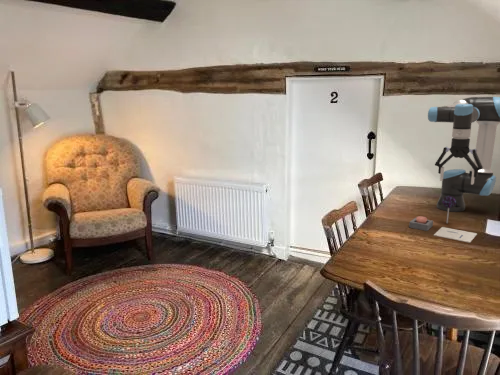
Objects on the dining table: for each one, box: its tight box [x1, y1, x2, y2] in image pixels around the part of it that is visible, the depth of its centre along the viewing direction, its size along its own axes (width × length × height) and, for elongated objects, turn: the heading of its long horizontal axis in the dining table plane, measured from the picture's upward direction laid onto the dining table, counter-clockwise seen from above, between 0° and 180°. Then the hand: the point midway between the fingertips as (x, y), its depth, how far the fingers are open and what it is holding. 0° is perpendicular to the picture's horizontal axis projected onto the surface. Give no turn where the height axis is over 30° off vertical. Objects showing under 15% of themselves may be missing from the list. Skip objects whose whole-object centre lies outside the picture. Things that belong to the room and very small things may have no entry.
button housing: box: [408, 217, 434, 232], centre depth 208 cm, size 9×9×3 cm
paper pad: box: [433, 226, 478, 243], centre depth 196 cm, size 14×16×1 cm
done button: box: [415, 215, 428, 224], centre depth 207 cm, size 5×5×3 cm
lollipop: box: [442, 196, 457, 224], centre depth 211 cm, size 7×7×15 cm
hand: (456, 182), depth 192 cm, fingers open, 13 cm apart
